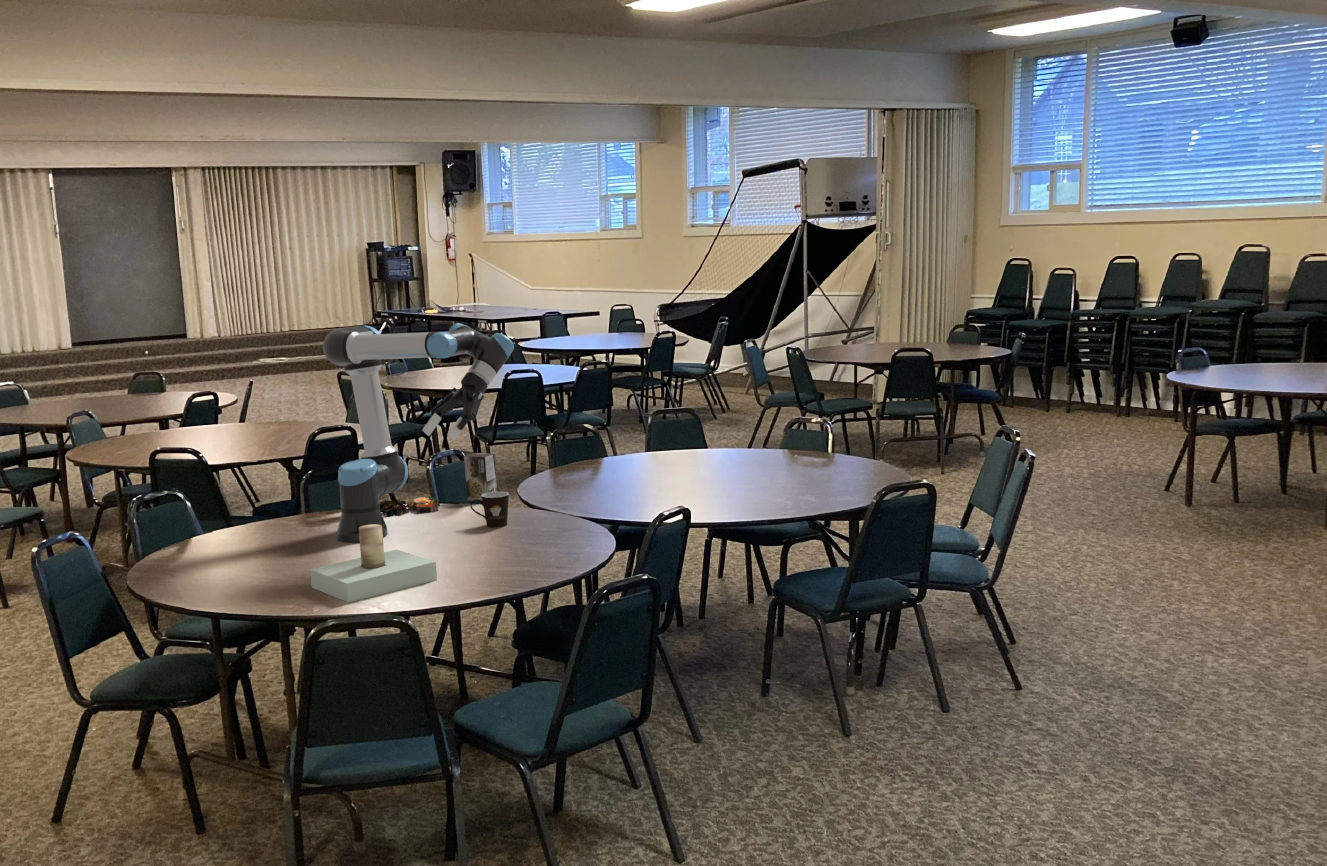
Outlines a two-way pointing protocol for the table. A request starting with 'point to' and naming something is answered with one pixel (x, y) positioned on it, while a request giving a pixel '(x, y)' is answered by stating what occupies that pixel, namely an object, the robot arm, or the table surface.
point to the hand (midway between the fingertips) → (438, 435)
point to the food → (399, 509)
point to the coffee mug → (494, 508)
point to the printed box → (480, 475)
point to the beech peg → (371, 546)
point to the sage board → (373, 576)
